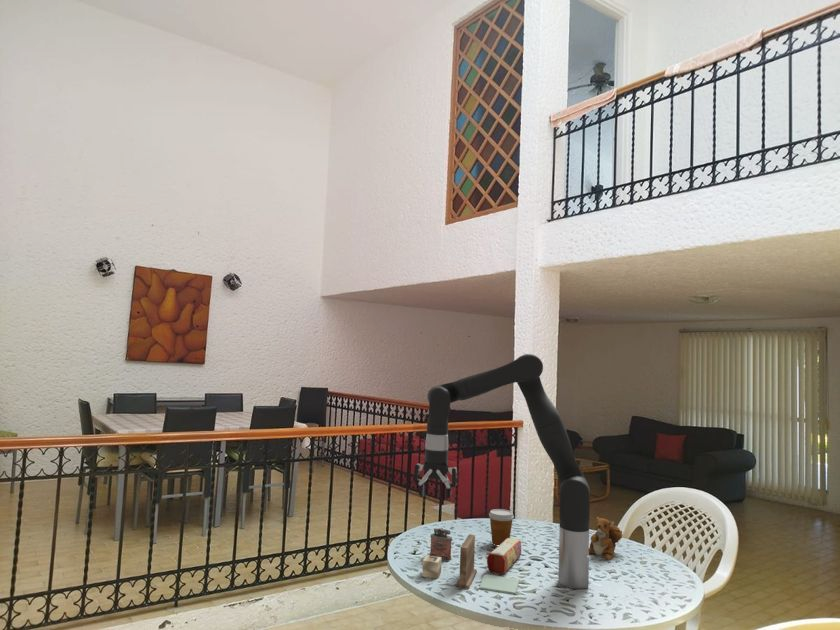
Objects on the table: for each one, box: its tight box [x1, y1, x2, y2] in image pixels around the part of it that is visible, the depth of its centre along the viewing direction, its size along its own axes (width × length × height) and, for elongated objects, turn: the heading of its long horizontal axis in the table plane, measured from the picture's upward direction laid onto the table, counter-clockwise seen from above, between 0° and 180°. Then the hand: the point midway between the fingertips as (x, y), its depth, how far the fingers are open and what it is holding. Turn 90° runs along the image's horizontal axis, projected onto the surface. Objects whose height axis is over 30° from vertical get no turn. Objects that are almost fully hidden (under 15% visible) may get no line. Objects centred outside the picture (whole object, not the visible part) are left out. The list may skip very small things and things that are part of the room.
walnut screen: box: [455, 533, 478, 590], centre depth 178 cm, size 4×14×12 cm, turn 164°
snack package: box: [486, 537, 522, 575], centre depth 193 cm, size 21×7×7 cm, turn 154°
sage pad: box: [479, 573, 520, 595], centre depth 175 cm, size 11×11×1 cm
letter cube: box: [421, 554, 443, 579], centre depth 181 cm, size 5×5×5 cm
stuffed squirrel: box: [589, 516, 624, 561], centre depth 208 cm, size 10×14×13 cm
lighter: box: [429, 527, 453, 562], centre depth 197 cm, size 8×3×10 cm, turn 62°
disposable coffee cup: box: [488, 508, 515, 546], centre depth 214 cm, size 10×10×12 cm
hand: (434, 498), depth 183 cm, fingers open, 8 cm apart
